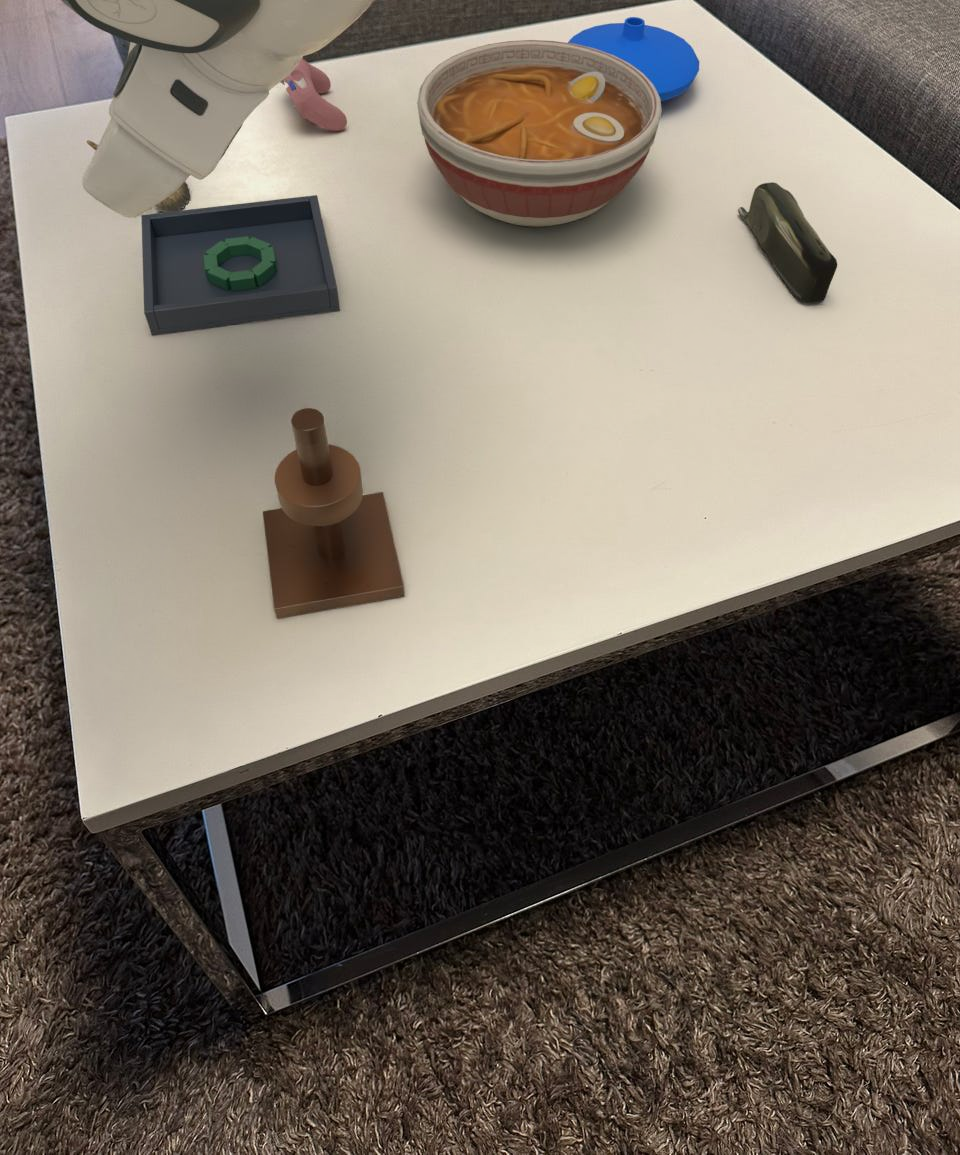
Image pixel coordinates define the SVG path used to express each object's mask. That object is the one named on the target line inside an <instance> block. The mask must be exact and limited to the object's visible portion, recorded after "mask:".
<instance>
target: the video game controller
mask: <svg viewBox="0 0 960 1155" xmlns="http://www.w3.org/2000/svg"><path fill="white" fill-rule="evenodd" d="M279 84H281V85H283V86H285V85H286V84H287V87H286V89H285V91H286V93H287V94H288V96H289V98H290V100H291V103H292V105H293V106H294V108H295V110H297V111H298V112H299V114H300V115H301V117H302V118H303V119H306V120H307V121H308V122H309V124H312V123H313V124H315V125H317V126H319V127H321V128H323V129H326V130H330V131H333V132H338V131H342V130H345V128H346V126H347V124H348V119H347V116H346V113H344V112H343V111H342V110H341V109H340V108H339V107H338V106H336V105H334V104H332V103H331V102H329V101H328V100H326V99H325V98H323V97H322V96H321V94H325V93H327V92H329V90H330V89H331V85H332V83H331V79H330V78H329V77H328V75H327V74H326V73H325V72H324V71H322V70H321V69H320V68H318V67H316V66H314V65H313V64H310V63H309V62H308V61H307V60H305V59H304V58H303V57H302V59H301V61H300V63H299V64H298V66H297V67H296V68H295V69H294V70H293V72H292V73H290V74H289V75H288V76H287V77H286V78H285V79H283V80H282V81H281V82H279Z"/></svg>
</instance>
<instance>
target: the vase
mask: <svg viewBox="0 0 960 1155" xmlns="http://www.w3.org/2000/svg"><path fill="white" fill-rule="evenodd" d="M567 43H573V44H577V45H582V46H586V47H590V48H594V49H597V50H600V51H603V52H606V53H608V54H611V55H614V56H616V57H618V58H620V59H622V60H624V61H626V62H628V63H630V64H631V65H632V66H634V67H635V68H636V69H638V70H639V71H641V72H642V73H643V74H644V75H645V76H646V77H647V78H648V79H649V80H650V81H651V83H652V84H653V85H654V87H655V89H656V91H657V93H658V95H659V97H660V100H661V102H664V101H668V100H671V99H673V98H676V97H678V96H680V95H681V94H683V93H684V92H685V91H687V90H688V89H690V87H691V86H692V84H693V82H694V81H695V79H696V77H697V75H698V74H699V71H700V59H699V58H698V56H697V54H696V52H695V50H694V48H693V47H692V45H691V44H690V43H689V42H687V41H686V40H685V38H683V37H681V36H680V35H678V34H676V33H674V32H672V31H670V30H667V29H663V28H661V27H657V26H653V25H648V24H646V21H645V20H644V19H643V18H641V17H637V16H629V17H627V18H625V19H624V22H614V23H613V22H611V23H604V24H599V25H595V26H594V25H593V26H592V27H589V28H586V29H583V30H580V32H578V33H576V34H575V35H573V36H572V37H571V38H570V39H569V40H568V42H567Z"/></svg>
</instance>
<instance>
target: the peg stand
mask: <svg viewBox="0 0 960 1155" xmlns="http://www.w3.org/2000/svg"><path fill="white" fill-rule="evenodd" d="M290 425H291V430H292V433H293V438H294V443H295V450H292V451H291V452H290V453H288V454H287V455H286V456H284V457H283V459H282V460H281V461H280V462H279V464H278V465H277V467H276V469H275V473H274V485H275V490H276V494H277V499H278V502H279V506H280V508H274V509H268V510H263V511H262V518H263V526H264V536H265V541H266V543H265V545H266V551H267V559H268V569H269V576H270V577H269V578H270V585H271V593H272V602H273V610H274V614H275V616H276V619H285V618H289V617H295V616H301V615H306V614H311V613H317V612H323V611H329V610H333V609H335V610H336V609H340V608H346V607H351V606H358V605H363V604H368V603H374V602H379V601H386V600H392V599H398V598H403V597H405V586H404V582H403V577H402V573H401V568H400V564H399V559H398V554H397V550H396V549H397V548H396V546H395V540H394V536H393V531H392V527H391V523H390V516H389V514H388V509H387V505H386V499H385V494H384V492H383V491H381V492H375V493H368V494H364V488H363V487H364V486H363V478H362V470H361V467H360V464H359V461H358V459H356V457H355V456H354V455H353V454H352V453H351V452H350V451H348V450H346V449H345V448H343V447H341V446H337V445H335V444H330V443H329V440H328V434H327V428H326V422H325V417H324V414H323V412H322V411H320V410H319V409H317V408H314V407H304V408H301V409H298V410H296V411H295V412H294V413H293V414H292V416H291V419H290Z"/></svg>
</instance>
